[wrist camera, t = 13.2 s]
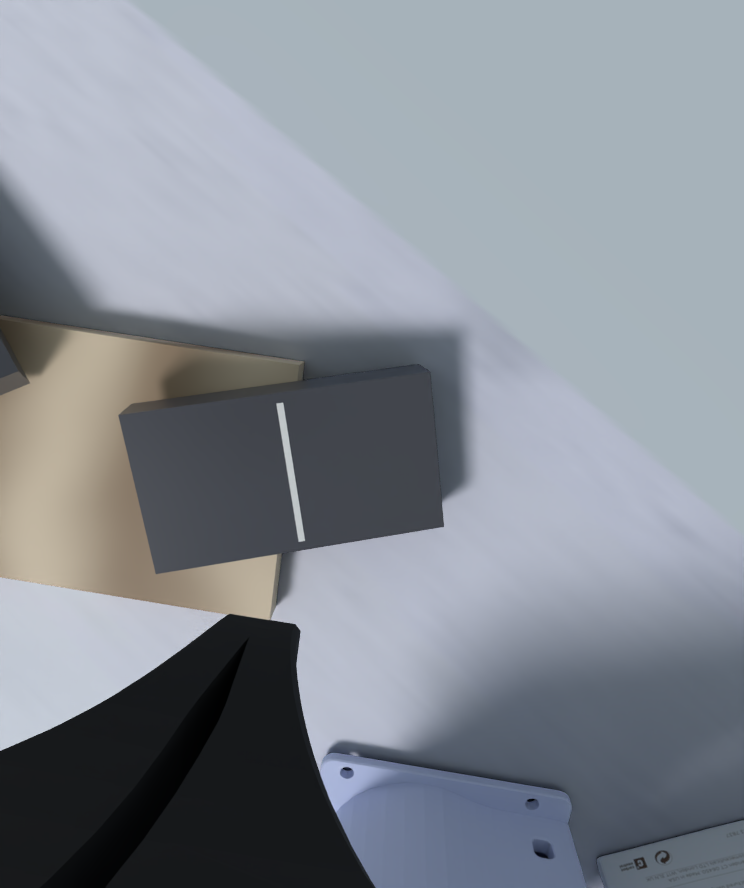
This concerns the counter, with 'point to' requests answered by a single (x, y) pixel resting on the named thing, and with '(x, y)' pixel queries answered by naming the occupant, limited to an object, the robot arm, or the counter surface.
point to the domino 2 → (284, 466)
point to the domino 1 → (10, 368)
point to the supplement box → (680, 861)
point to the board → (109, 464)
